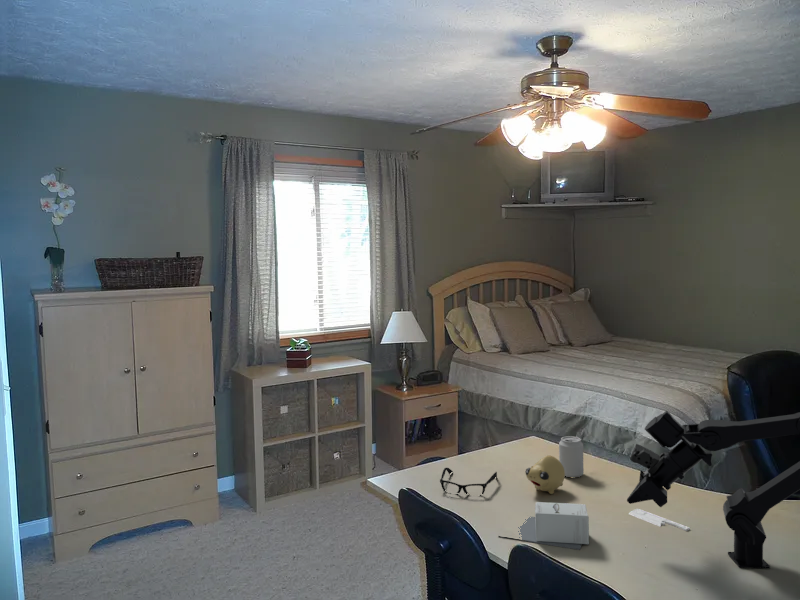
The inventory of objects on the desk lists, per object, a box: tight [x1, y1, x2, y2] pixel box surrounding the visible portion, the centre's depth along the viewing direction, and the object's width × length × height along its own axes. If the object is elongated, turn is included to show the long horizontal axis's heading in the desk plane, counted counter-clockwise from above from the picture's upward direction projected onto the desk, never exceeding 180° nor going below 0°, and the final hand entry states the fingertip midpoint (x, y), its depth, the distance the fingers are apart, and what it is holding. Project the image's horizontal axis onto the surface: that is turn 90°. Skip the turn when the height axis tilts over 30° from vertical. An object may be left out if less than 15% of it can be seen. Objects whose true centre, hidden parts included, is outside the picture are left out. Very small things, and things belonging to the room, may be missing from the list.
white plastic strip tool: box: [628, 508, 691, 532], centre depth 157 cm, size 5×15×1 cm, turn 33°
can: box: [558, 435, 585, 478], centre depth 192 cm, size 8×8×12 cm
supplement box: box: [534, 501, 590, 545], centre depth 150 cm, size 7×7×13 cm
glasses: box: [439, 467, 498, 495], centre depth 187 cm, size 17×18×5 cm
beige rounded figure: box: [525, 454, 566, 495], centre depth 180 cm, size 10×12×11 cm
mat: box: [518, 516, 583, 551], centre depth 154 cm, size 20×14×1 cm
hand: (628, 501), depth 145 cm, fingers closed
